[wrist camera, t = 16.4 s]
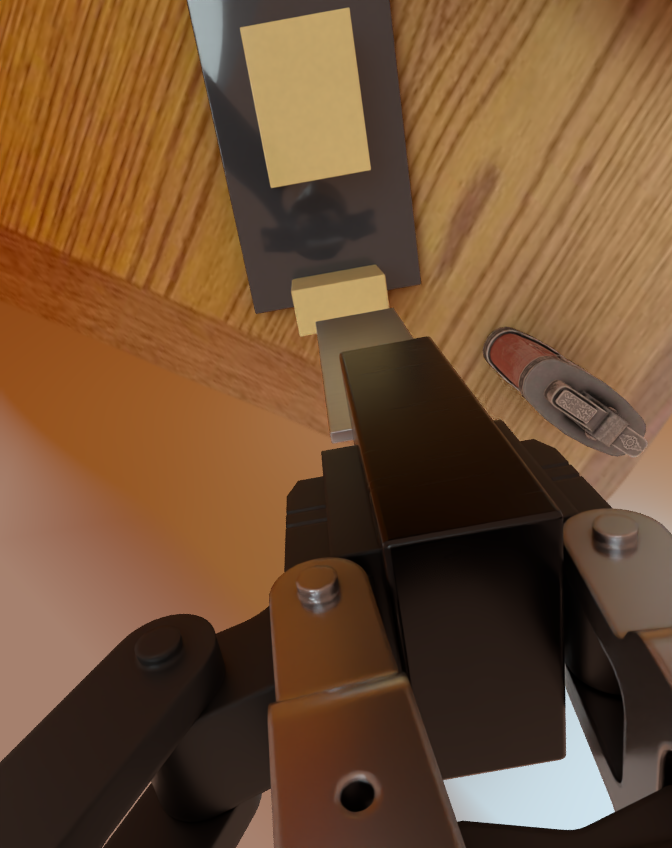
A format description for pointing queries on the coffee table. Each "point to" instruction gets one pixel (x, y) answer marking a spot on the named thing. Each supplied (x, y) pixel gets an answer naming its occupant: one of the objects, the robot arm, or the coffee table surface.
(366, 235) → the butter board
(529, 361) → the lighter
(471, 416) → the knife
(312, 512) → the robot arm
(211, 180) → the coffee table surface
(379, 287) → the butter pat
